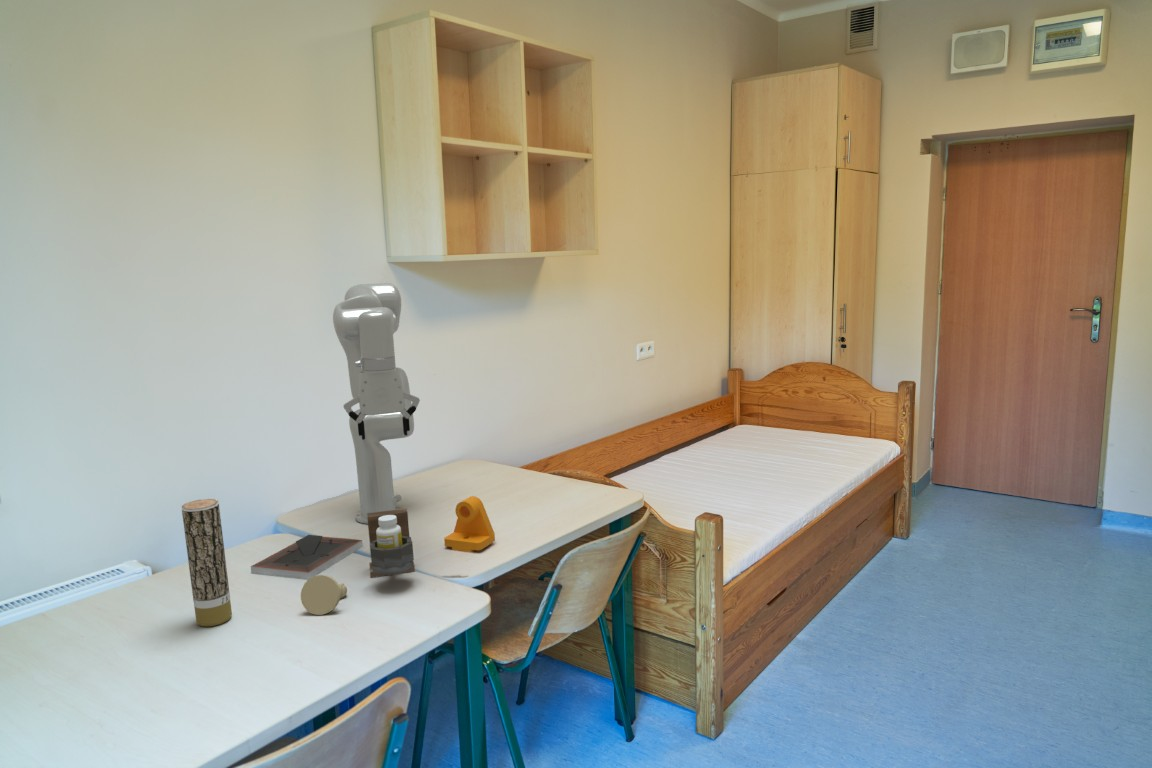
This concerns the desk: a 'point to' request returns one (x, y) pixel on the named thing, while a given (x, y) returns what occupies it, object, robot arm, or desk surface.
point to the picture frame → (307, 557)
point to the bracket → (470, 527)
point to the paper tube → (207, 562)
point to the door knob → (322, 594)
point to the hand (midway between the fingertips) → (384, 436)
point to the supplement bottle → (388, 532)
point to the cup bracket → (390, 558)
